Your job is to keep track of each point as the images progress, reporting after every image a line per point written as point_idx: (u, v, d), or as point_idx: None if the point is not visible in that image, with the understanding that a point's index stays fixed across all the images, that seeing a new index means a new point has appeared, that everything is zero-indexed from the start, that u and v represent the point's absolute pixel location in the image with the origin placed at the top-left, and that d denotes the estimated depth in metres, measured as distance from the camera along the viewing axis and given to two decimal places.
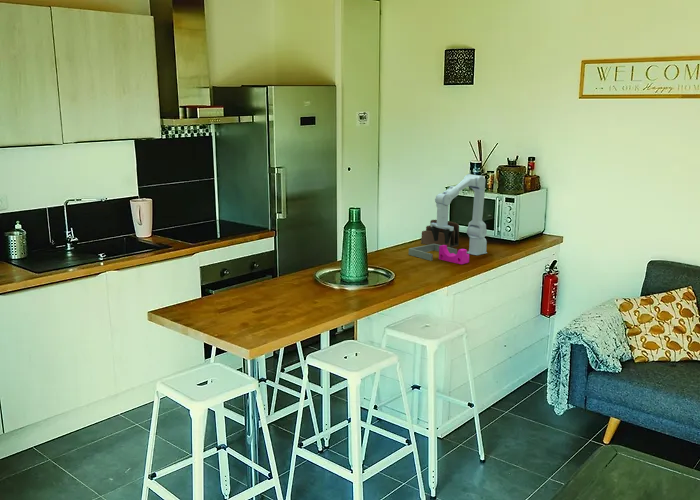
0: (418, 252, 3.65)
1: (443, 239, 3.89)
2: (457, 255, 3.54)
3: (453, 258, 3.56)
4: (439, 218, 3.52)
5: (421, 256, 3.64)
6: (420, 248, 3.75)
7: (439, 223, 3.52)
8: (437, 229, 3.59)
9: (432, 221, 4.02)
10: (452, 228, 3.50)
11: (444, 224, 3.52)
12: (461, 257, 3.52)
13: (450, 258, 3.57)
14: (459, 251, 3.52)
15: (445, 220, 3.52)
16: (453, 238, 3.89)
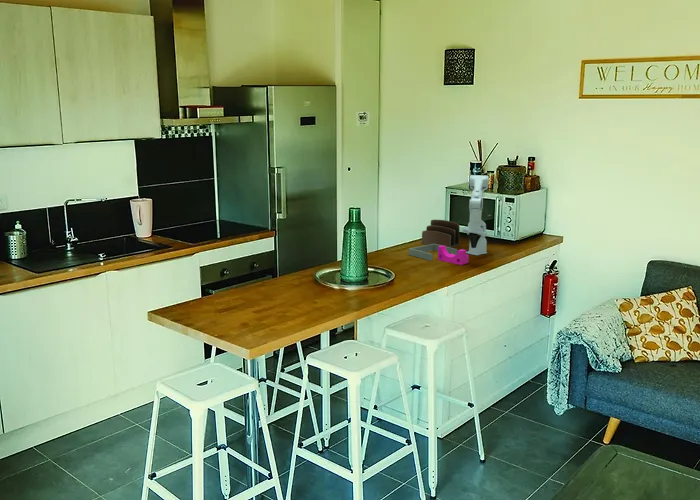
0: (418, 252, 3.65)
1: (443, 239, 3.89)
2: (456, 256, 3.52)
3: (452, 259, 3.54)
4: (472, 223, 3.43)
5: (421, 256, 3.64)
6: (420, 248, 3.75)
7: (472, 228, 3.43)
8: None
9: (432, 221, 4.02)
10: (485, 233, 3.41)
11: (477, 229, 3.43)
12: (461, 258, 3.51)
13: (449, 259, 3.56)
14: (458, 252, 3.51)
15: (478, 225, 3.43)
16: (454, 238, 3.90)
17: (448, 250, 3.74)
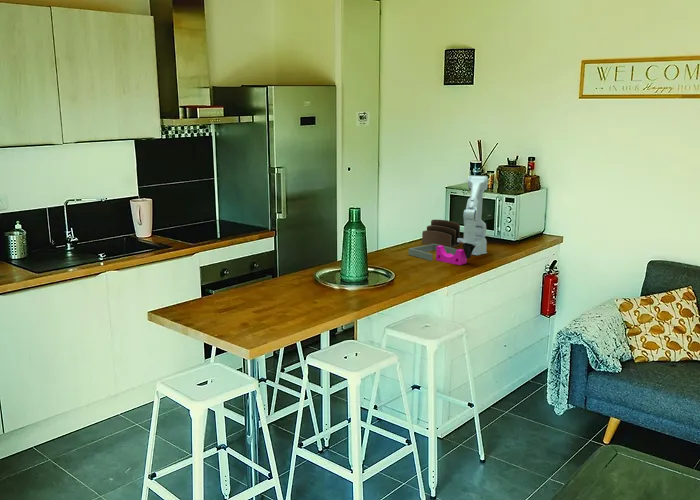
0: (418, 252, 3.65)
1: (444, 239, 3.89)
2: (455, 255, 3.52)
3: (451, 258, 3.54)
4: (466, 234, 3.47)
5: (421, 256, 3.64)
6: (420, 248, 3.75)
7: (466, 239, 3.47)
8: None
9: (433, 221, 4.03)
10: (480, 244, 3.45)
11: (471, 240, 3.47)
12: (459, 257, 3.50)
13: (448, 259, 3.55)
14: (457, 251, 3.50)
15: (472, 236, 3.47)
16: (454, 238, 3.90)
17: (448, 250, 3.74)
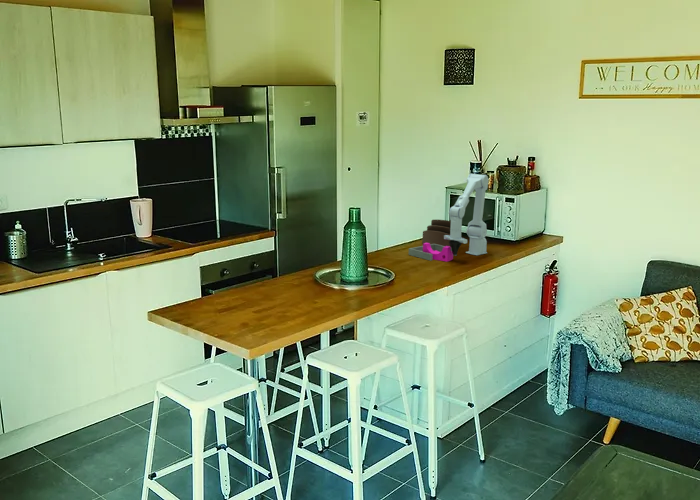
0: (418, 252, 3.65)
1: (444, 239, 3.89)
2: (442, 252, 3.58)
3: (438, 255, 3.60)
4: (453, 231, 3.54)
5: (421, 256, 3.64)
6: (420, 248, 3.75)
7: (453, 236, 3.54)
8: None
9: (433, 221, 4.03)
10: (466, 241, 3.52)
11: (458, 237, 3.54)
12: (446, 254, 3.57)
13: (434, 255, 3.61)
14: (444, 248, 3.57)
15: (459, 233, 3.54)
16: None
17: None
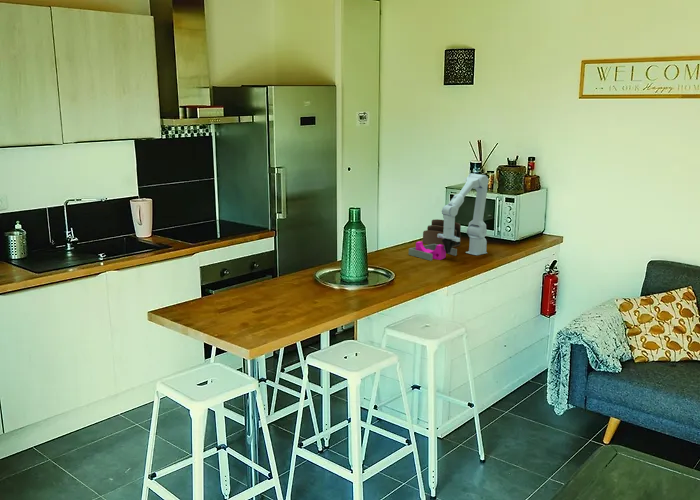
0: (418, 252, 3.65)
1: None
2: (435, 251, 3.62)
3: None
4: (446, 229, 3.57)
5: (421, 256, 3.64)
6: None
7: (446, 234, 3.58)
8: None
9: (433, 221, 4.03)
10: (459, 239, 3.55)
11: (451, 235, 3.58)
12: (439, 252, 3.61)
13: None
14: (437, 247, 3.61)
15: (452, 231, 3.57)
16: None
17: None
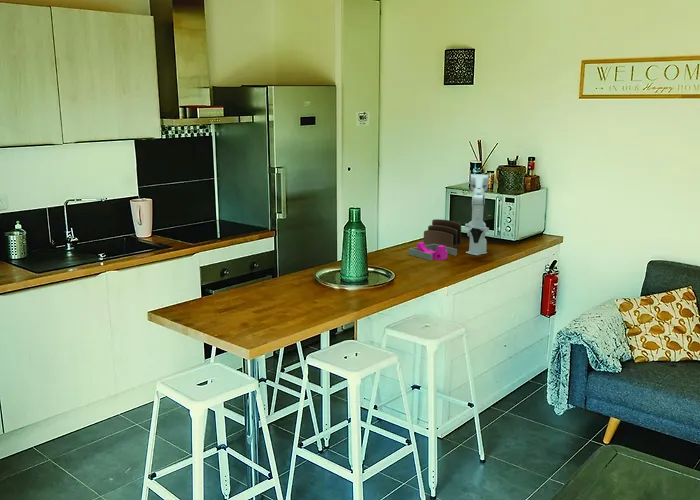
0: (418, 252, 3.65)
1: (446, 239, 3.90)
2: (436, 252, 3.61)
3: None
4: (474, 219, 3.54)
5: (421, 256, 3.64)
6: None
7: (474, 224, 3.55)
8: None
9: (434, 221, 4.03)
10: (487, 229, 3.52)
11: (479, 225, 3.55)
12: (441, 253, 3.59)
13: None
14: (439, 248, 3.59)
15: (480, 221, 3.54)
16: (456, 237, 3.91)
17: (448, 250, 3.74)
